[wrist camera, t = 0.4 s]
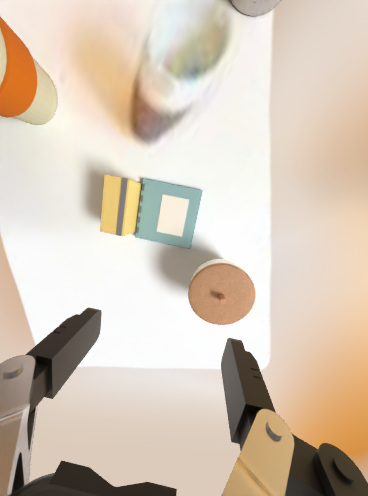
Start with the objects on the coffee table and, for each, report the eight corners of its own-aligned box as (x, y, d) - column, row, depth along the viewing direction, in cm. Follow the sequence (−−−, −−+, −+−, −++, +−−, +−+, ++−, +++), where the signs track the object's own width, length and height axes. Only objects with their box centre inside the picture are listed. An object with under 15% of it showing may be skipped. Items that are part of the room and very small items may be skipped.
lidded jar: (254, 274, 35) (274, 298, 25) (219, 310, 37) (226, 344, 28) (213, 241, 34) (219, 253, 25) (179, 280, 36) (173, 304, 27)
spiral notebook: (144, 179, 32) (142, 178, 31) (202, 190, 32) (202, 190, 31) (136, 236, 35) (134, 237, 34) (190, 247, 34) (190, 249, 33)
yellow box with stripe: (121, 180, 32) (103, 174, 26) (141, 184, 32) (129, 179, 26) (116, 227, 35) (99, 231, 29) (135, 231, 34) (122, 236, 28)
